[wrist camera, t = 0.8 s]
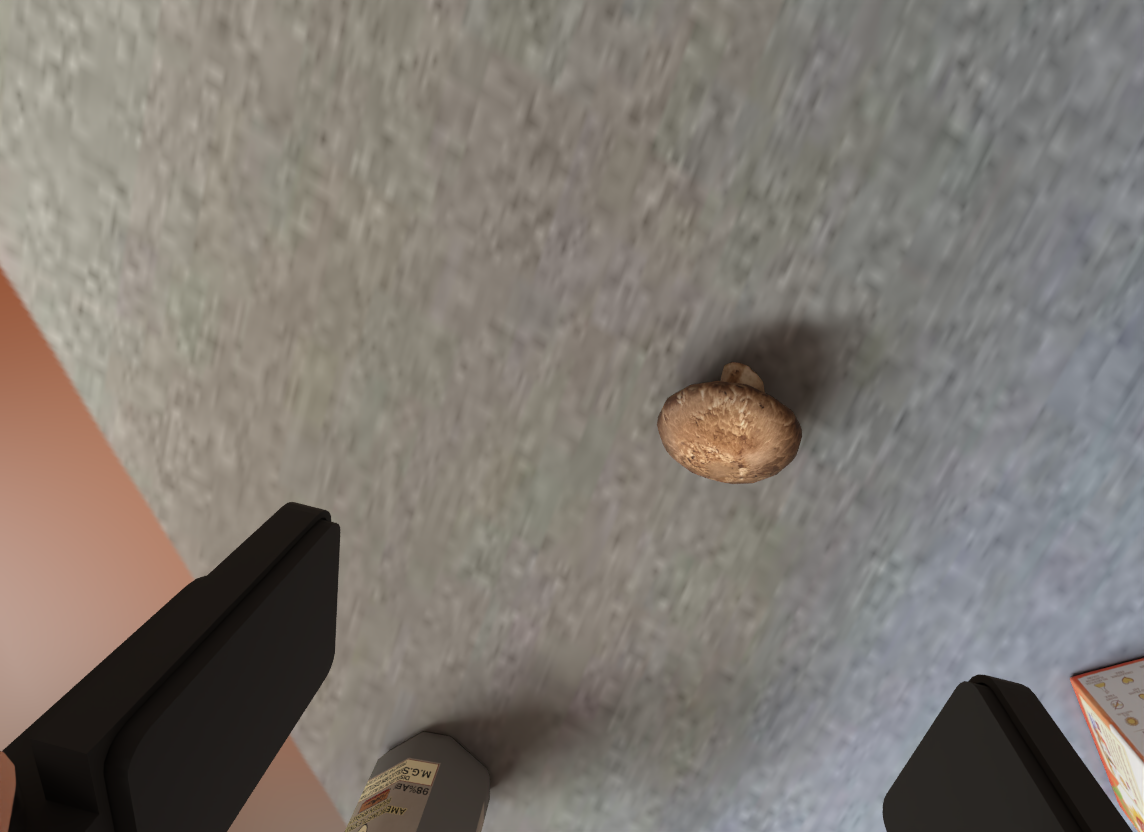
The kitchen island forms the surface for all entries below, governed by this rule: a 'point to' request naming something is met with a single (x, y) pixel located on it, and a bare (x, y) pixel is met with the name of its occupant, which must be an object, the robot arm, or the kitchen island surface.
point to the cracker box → (1118, 729)
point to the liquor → (424, 789)
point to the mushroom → (729, 428)
